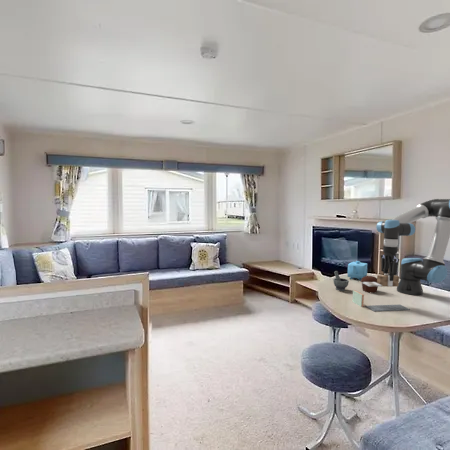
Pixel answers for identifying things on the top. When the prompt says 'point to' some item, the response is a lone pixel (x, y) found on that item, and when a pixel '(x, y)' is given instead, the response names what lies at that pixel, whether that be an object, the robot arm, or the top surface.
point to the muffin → (369, 288)
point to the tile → (358, 298)
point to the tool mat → (387, 307)
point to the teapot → (357, 270)
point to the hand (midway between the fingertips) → (387, 285)
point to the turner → (383, 281)
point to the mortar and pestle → (340, 282)
